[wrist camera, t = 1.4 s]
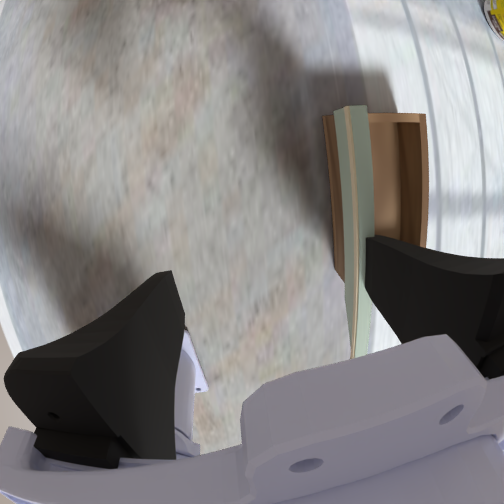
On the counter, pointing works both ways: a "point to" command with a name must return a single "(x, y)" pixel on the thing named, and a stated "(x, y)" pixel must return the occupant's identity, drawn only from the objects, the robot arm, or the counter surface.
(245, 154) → the counter surface
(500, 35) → the supplement bottle
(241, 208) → the counter surface
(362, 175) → the lid
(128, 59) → the counter surface
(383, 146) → the box
